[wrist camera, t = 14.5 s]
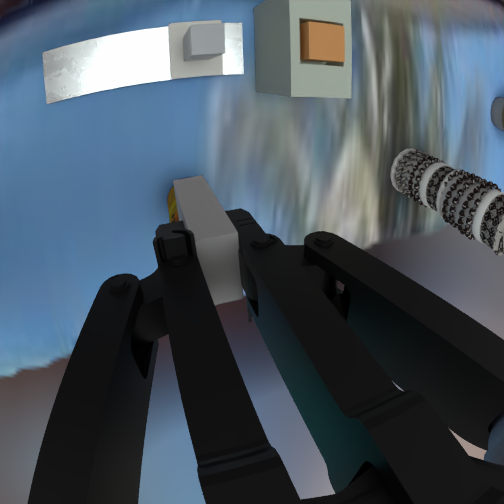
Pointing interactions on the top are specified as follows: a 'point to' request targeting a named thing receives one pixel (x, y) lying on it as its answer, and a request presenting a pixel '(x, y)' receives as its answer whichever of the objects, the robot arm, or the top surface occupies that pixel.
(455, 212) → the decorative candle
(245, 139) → the top surface
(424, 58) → the top surface
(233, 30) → the rail
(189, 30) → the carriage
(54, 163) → the top surface
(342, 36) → the button
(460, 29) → the top surface
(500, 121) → the coffee cup
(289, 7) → the white block
